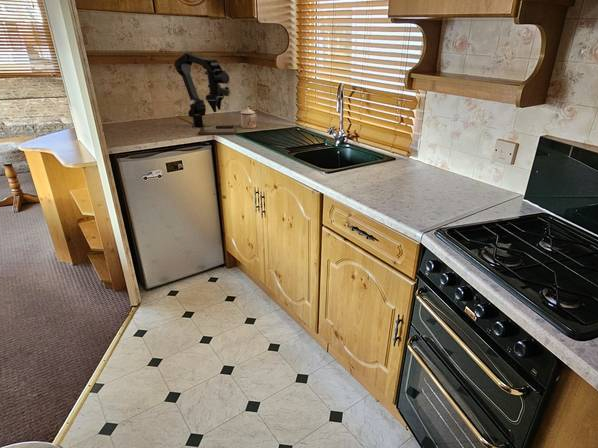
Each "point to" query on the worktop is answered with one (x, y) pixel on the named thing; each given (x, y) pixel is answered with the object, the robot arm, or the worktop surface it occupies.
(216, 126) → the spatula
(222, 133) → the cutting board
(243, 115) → the teacup with lid
